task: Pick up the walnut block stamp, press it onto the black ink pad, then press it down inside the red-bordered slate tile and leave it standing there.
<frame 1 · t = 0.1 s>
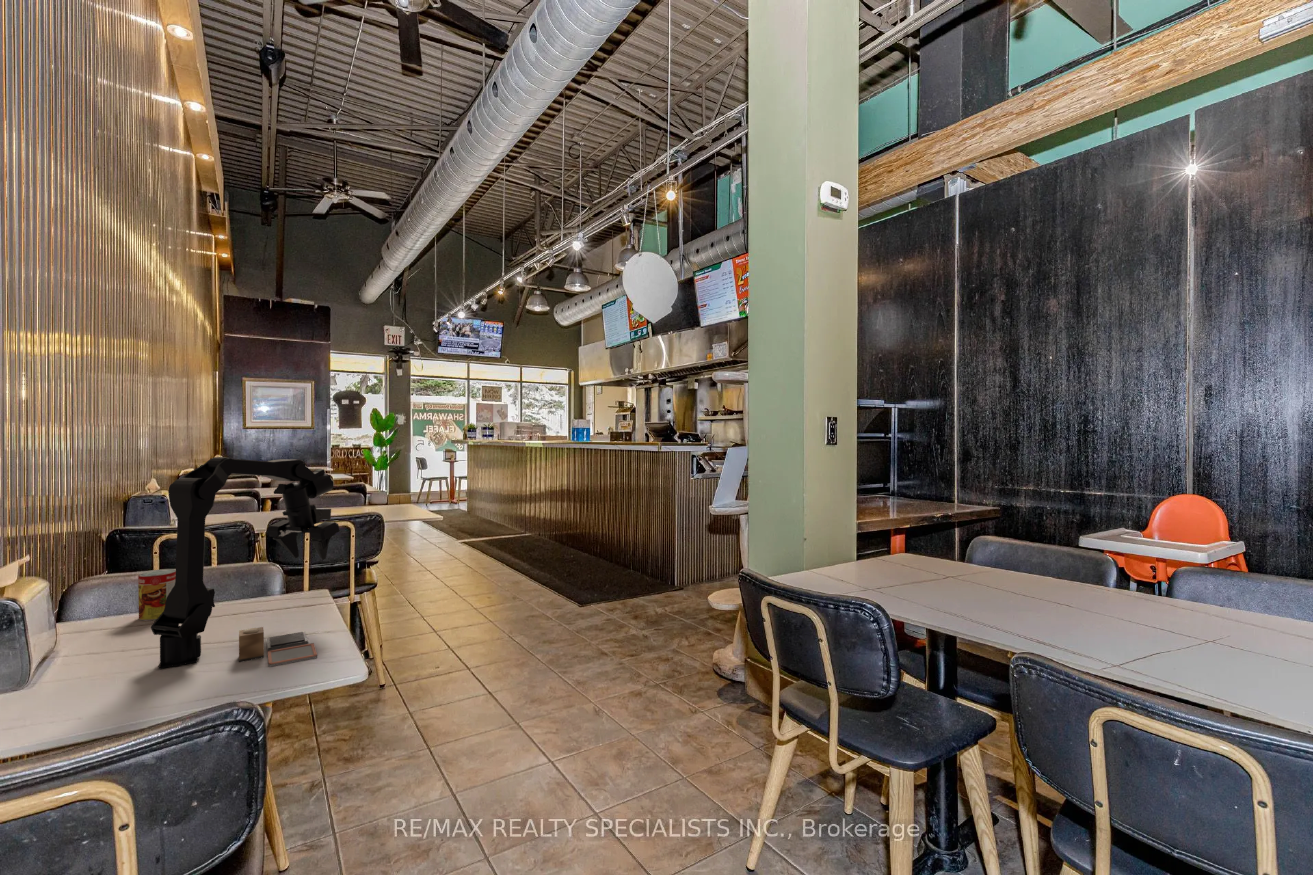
hand: (310, 558, 163), 15 cm above the table, fingers open, 9 cm apart
canned food: (157, 616, 163), on the table
ink pad: (287, 643, 142), on the table
tile: (292, 655, 134), on the table
stamp: (251, 656, 133), on the table
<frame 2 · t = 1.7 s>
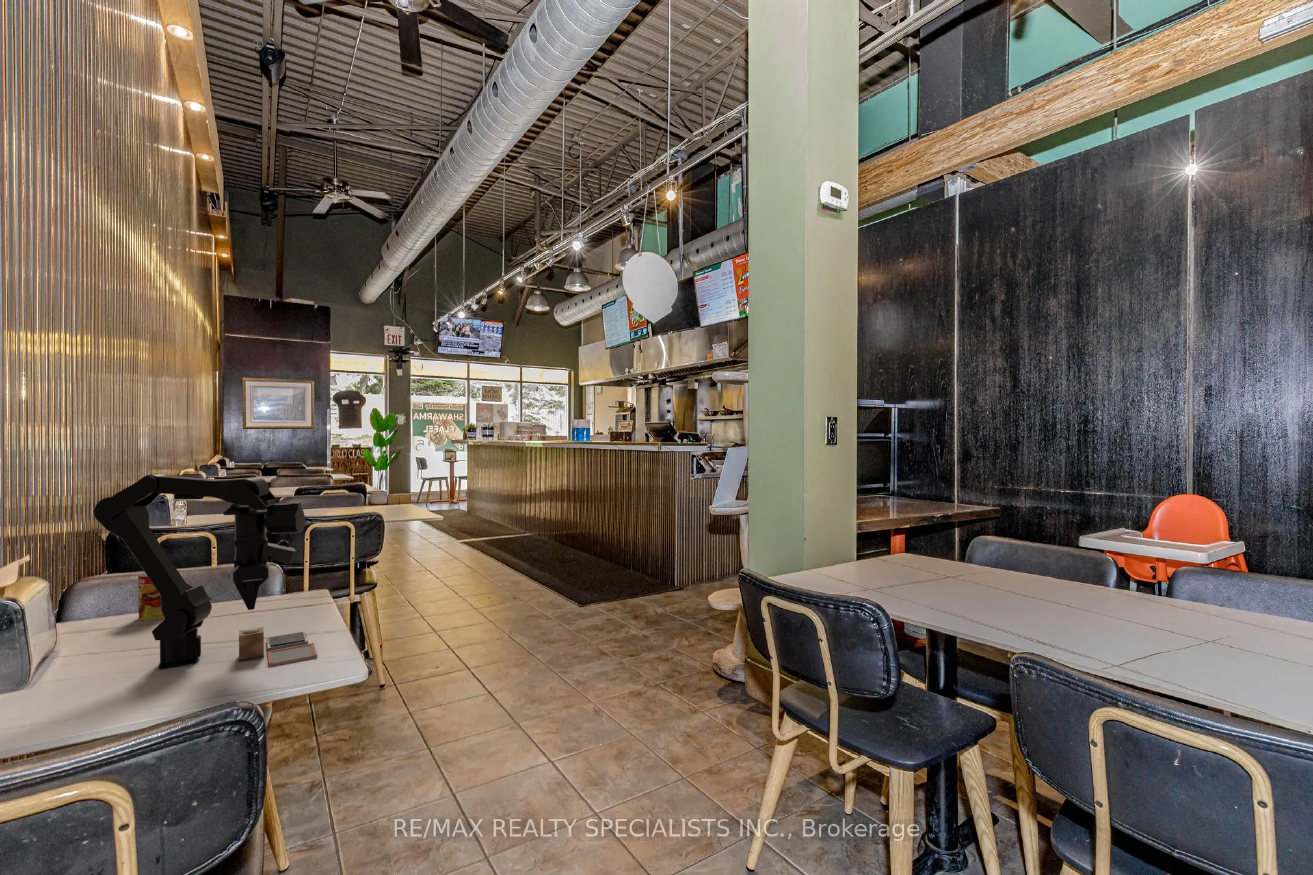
hand: (251, 604, 133), 12 cm above the table, fingers open, 9 cm apart
nothing on the table moved.
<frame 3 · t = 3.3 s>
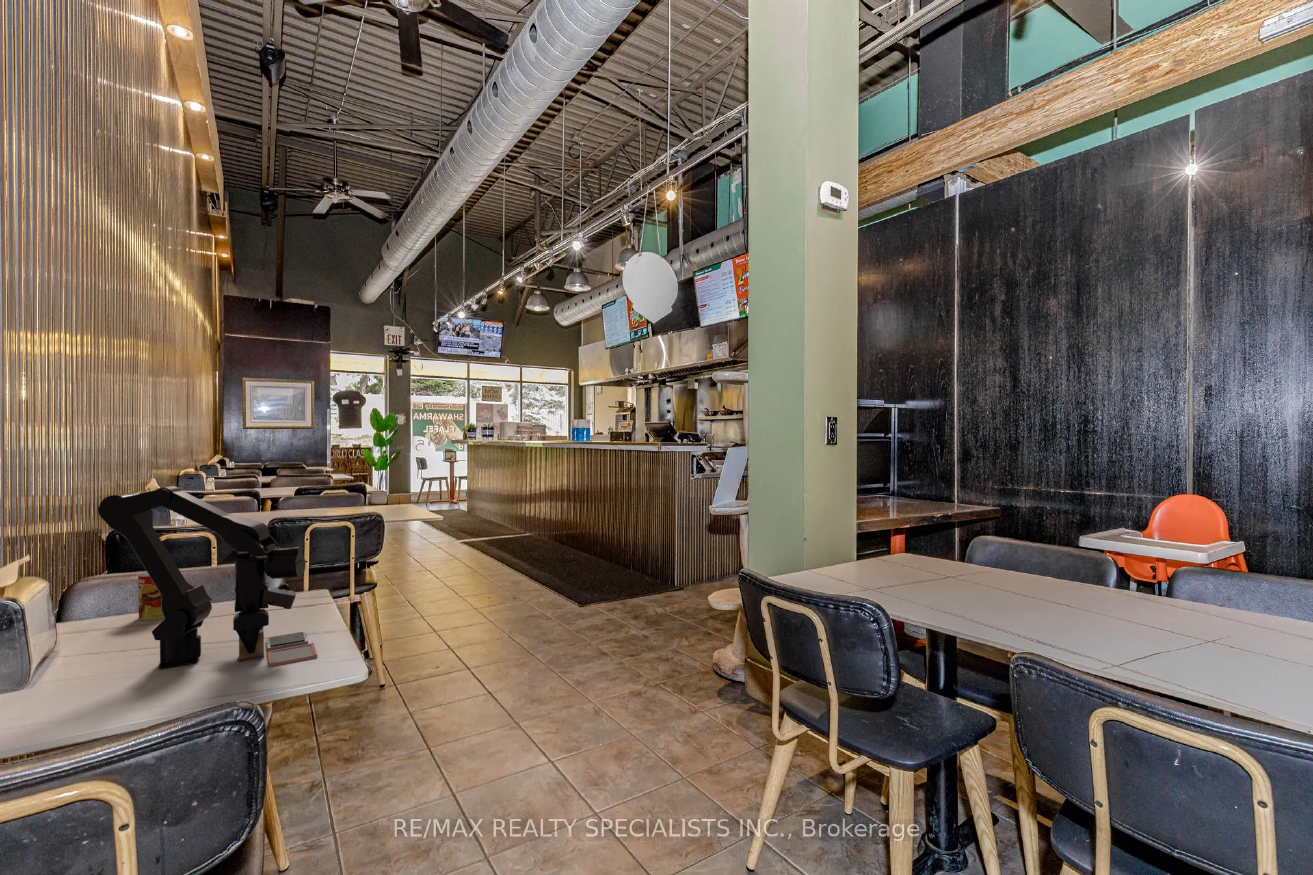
hand: (251, 649, 133), 2 cm above the table, fingers closed on stamp, 4 cm apart
stamp: (251, 656, 133), on the table, touching gripper
everything else where it was.
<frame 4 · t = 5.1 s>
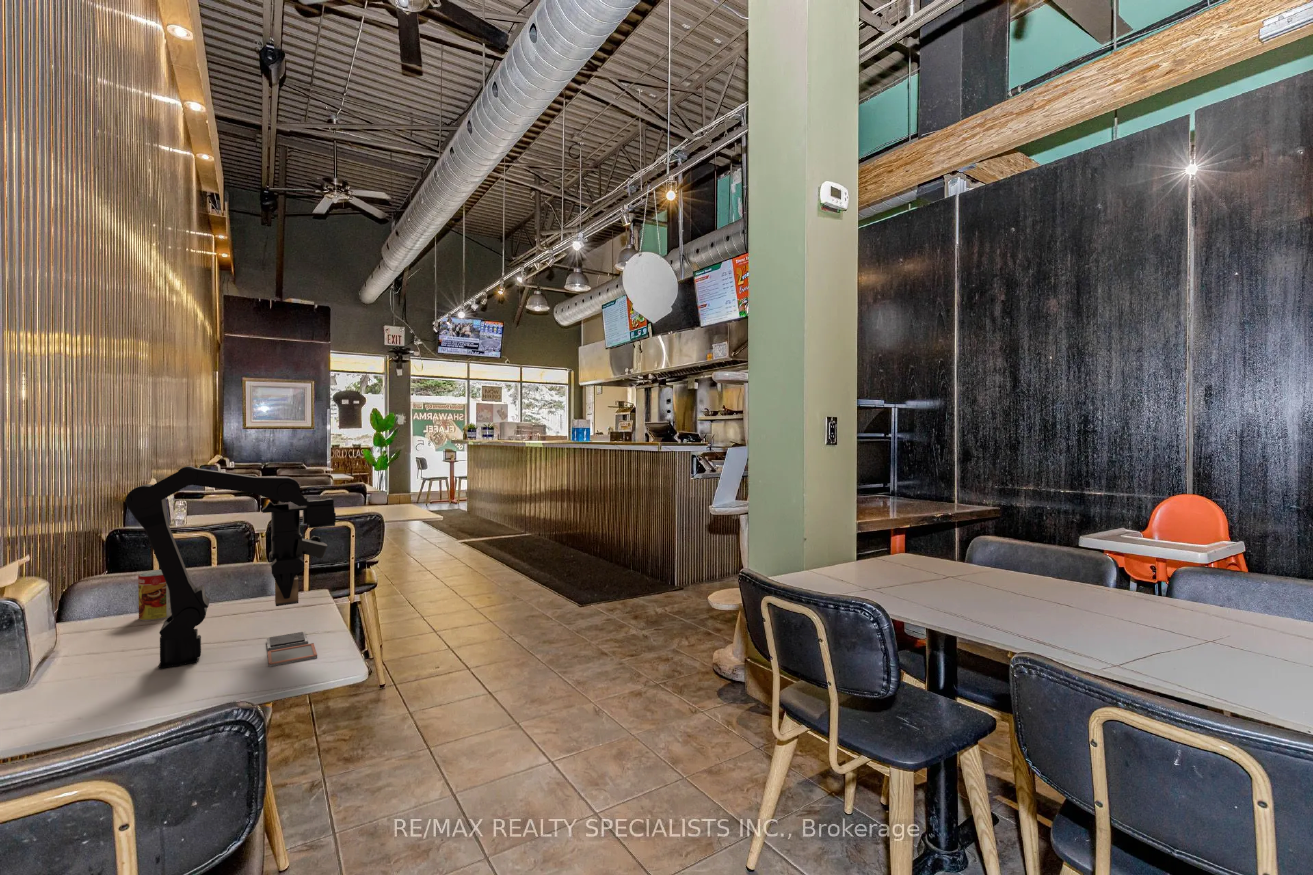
hand: (286, 596, 141), 11 cm above the table, fingers closed on stamp, 4 cm apart
stamp: (286, 602, 141), point 10 cm above the table, touching gripper
everything else where it was.
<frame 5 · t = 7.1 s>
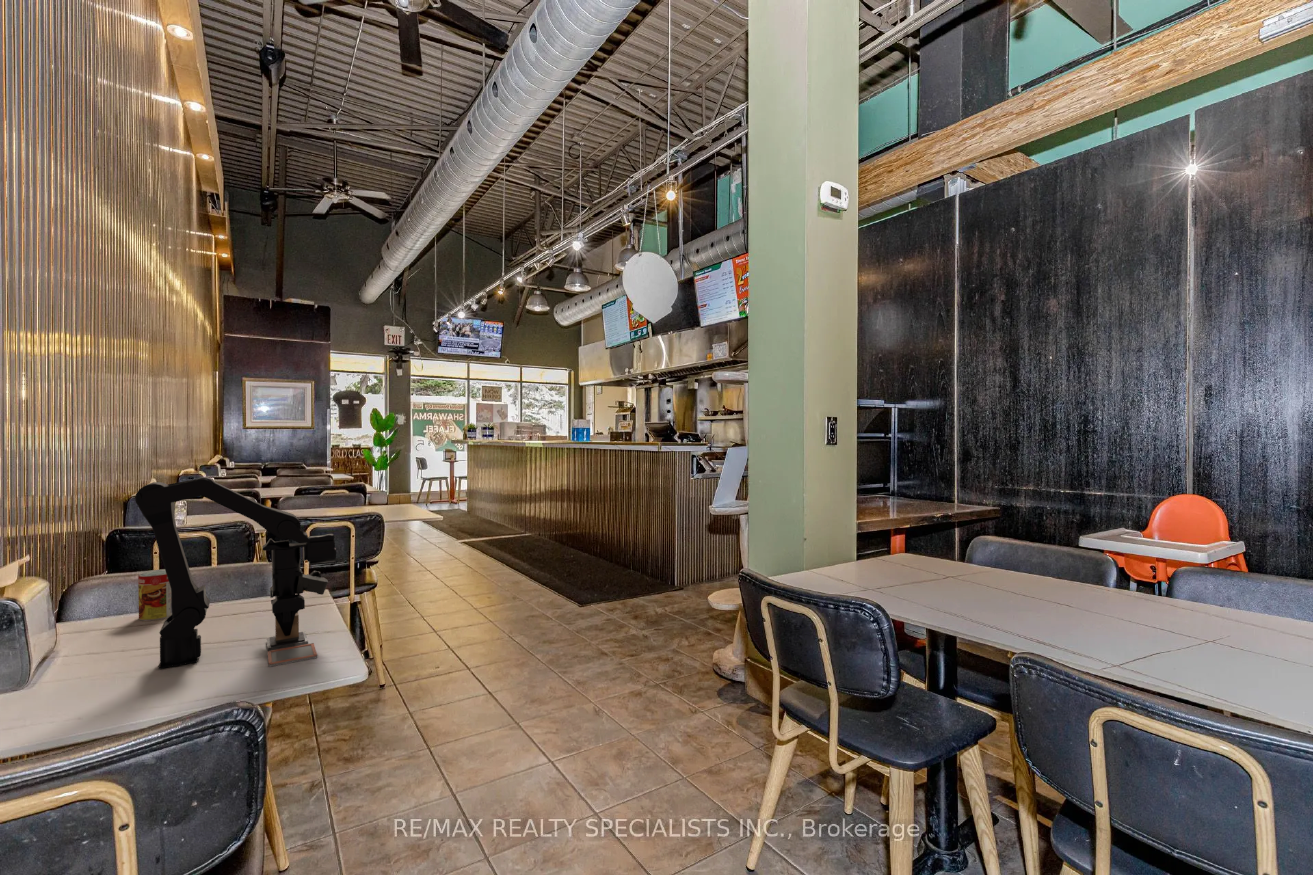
hand: (287, 632, 142), 2 cm above the table, fingers closed on stamp, 4 cm apart
stamp: (287, 638, 142), point 1 cm above the table, touching gripper, ink pad
everything else where it was.
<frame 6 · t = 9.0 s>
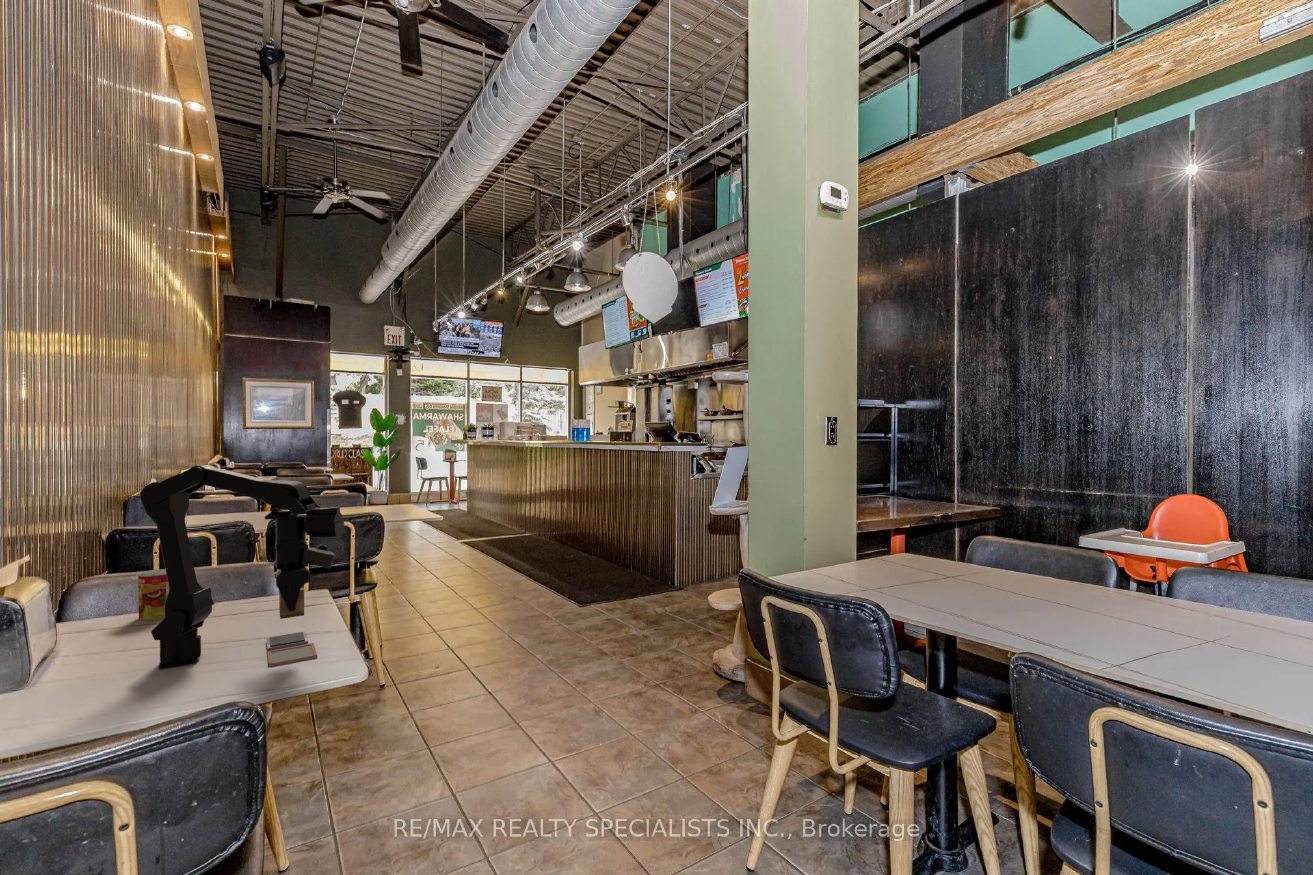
hand: (291, 608, 133), 11 cm above the table, fingers closed on stamp, 4 cm apart
stamp: (291, 614, 134), point 9 cm above the table, touching gripper
everything else where it was.
when the fingers open (2 cm above the table, at t = 10.8 s): stamp stays where it is, resting on tile.
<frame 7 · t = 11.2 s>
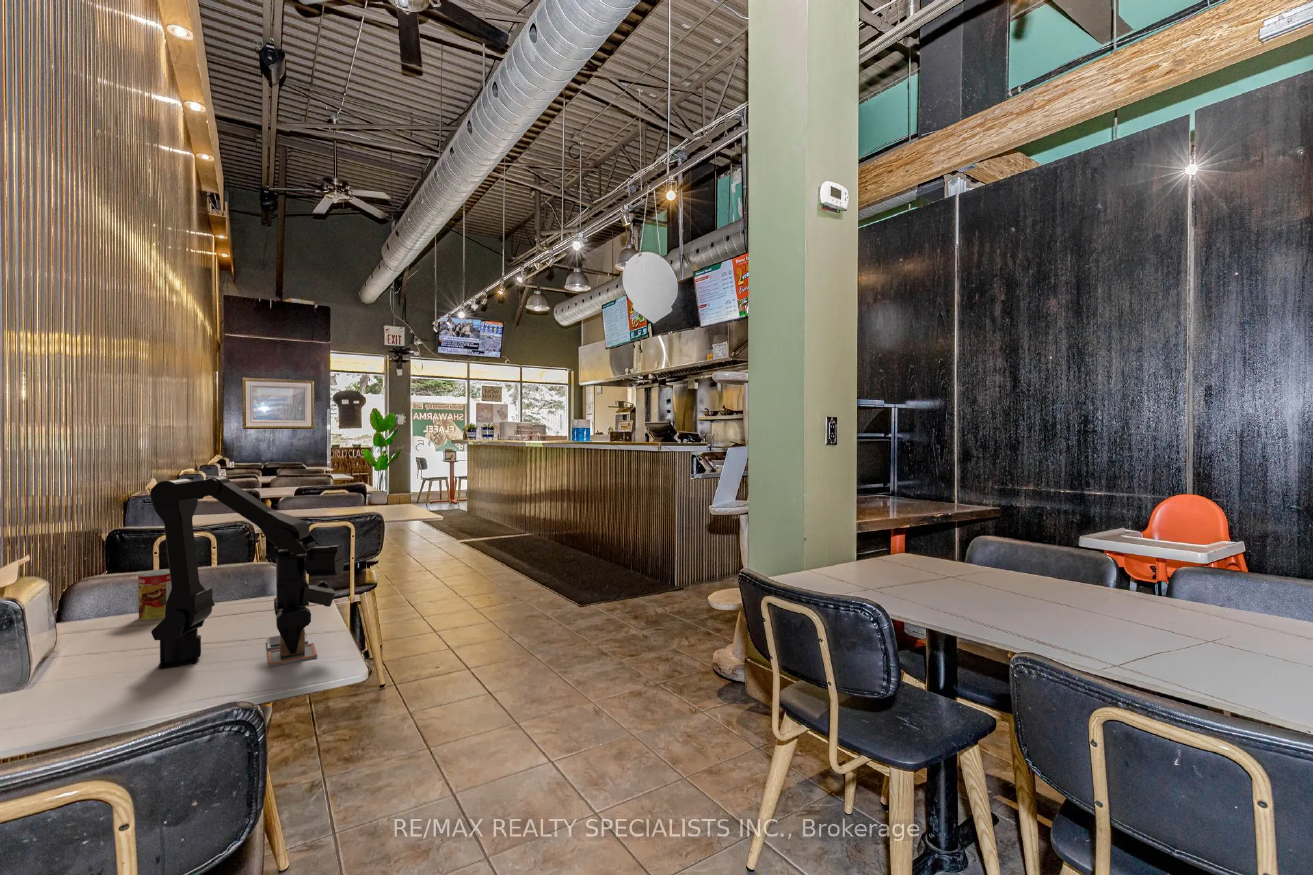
hand: (292, 647, 134), 2 cm above the table, fingers open, 9 cm apart
stamp: (292, 653, 134), resting on tile
everything else where it was.
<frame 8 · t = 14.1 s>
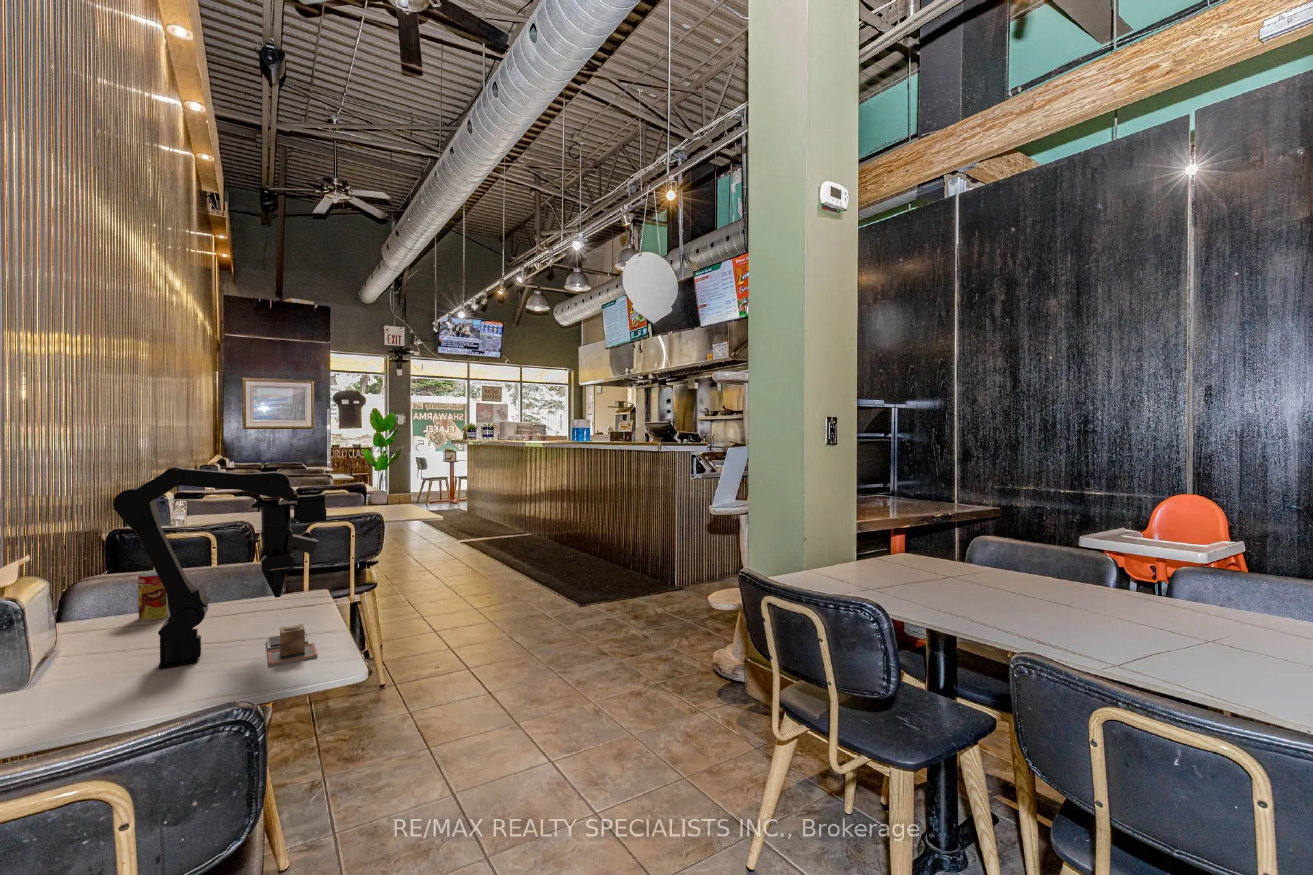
hand: (277, 592, 139), 13 cm above the table, fingers open, 9 cm apart
nothing on the table moved.
at the end: stamp inside the target area on the tile (0.0 cm from its centre), point 0.4 cm above the tile's base; stamp tilted 0°; the gripper is holding nothing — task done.
